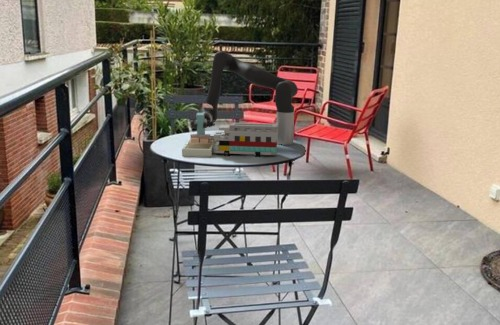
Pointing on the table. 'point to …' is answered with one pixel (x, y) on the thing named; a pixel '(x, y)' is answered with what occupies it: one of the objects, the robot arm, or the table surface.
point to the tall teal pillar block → (200, 127)
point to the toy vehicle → (247, 139)
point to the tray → (197, 151)
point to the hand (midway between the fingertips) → (199, 125)
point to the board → (201, 144)
